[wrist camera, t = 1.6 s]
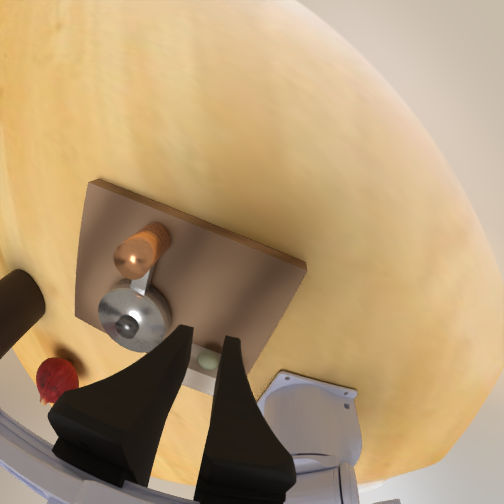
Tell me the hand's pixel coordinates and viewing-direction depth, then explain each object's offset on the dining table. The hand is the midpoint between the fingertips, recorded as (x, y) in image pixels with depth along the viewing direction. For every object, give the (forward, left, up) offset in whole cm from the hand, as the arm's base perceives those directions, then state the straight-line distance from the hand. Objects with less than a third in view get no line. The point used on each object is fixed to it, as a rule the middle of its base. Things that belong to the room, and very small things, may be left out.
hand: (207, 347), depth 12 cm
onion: (+15, +23, -11) cm, 30 cm away
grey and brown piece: (+6, +5, -9) cm, 11 cm away
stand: (+4, +5, -10) cm, 12 cm away
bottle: (+22, +15, -11) cm, 29 cm away
